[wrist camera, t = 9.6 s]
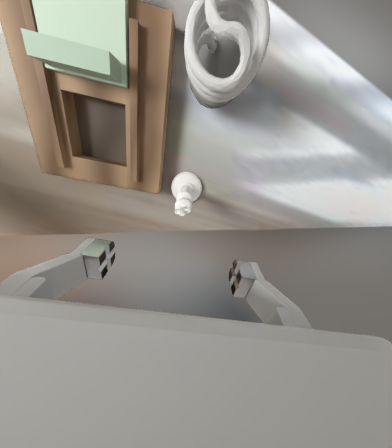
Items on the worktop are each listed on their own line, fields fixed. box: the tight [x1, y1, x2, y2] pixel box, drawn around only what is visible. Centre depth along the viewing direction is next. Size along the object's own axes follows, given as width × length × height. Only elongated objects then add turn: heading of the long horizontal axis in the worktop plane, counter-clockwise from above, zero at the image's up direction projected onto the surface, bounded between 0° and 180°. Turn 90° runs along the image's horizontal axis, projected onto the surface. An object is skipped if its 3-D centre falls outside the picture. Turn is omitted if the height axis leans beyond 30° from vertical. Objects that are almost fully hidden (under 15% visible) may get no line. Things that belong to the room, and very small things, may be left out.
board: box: [0, 0, 175, 194], centre depth 19 cm, size 16×18×3 cm
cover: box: [21, 0, 129, 89], centre depth 14 cm, size 8×8×3 cm
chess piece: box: [171, 172, 202, 216], centre depth 21 cm, size 5×5×10 cm
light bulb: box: [184, 0, 270, 109], centre depth 14 cm, size 6×6×12 cm
